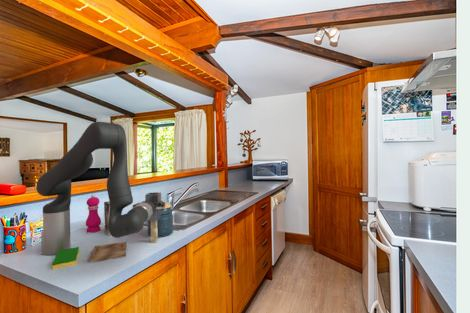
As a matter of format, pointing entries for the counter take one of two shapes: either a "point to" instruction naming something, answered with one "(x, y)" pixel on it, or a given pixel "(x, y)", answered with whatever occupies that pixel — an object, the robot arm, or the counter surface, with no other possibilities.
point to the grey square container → (154, 198)
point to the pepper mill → (93, 215)
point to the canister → (164, 222)
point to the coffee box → (107, 216)
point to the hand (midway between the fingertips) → (154, 203)
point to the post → (154, 232)
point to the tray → (108, 251)
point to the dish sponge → (65, 258)
